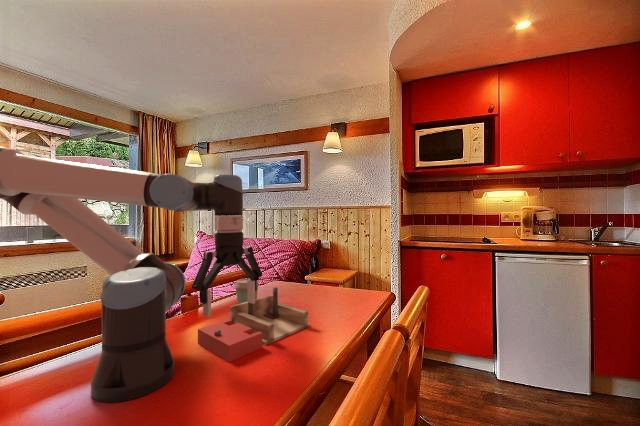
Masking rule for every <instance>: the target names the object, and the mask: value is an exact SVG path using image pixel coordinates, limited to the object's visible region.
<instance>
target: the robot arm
mask: <svg viewBox="0 0 640 426" xmlns="http://www.w3.org/2000/svg"><path fill="white" fill-rule="evenodd" d="M243 194H244V189H243V180H242V178H241V177H240V176H239V175H236V174H216V175H215V176H214V177H213V180H212V182H192V181H190V180H189V179H186V178H185V177H184V176H182V175H179V174H176V173H175V174H174V173H164V174H162V173H153V172H148V171H142V170H140V171H139V170H134V169H133V170H132V169H125V168H120V167H112V166H111V167H109V166H103V165H95V164H89V163H83V162H82V163H81V162H75V161H74V162H73V161H65V160H59V159H52V158H51V159H50V158H45V157H43V156H42V155H37V154H34V153H29V152H28V153H27V152H22V151H20V150H19V149H14V148H9V147H5V146H1V145H0V200H4V201H5V202H7V203H8V204H9V205H11V206H12V207H13V208H14V209H15V210H17V211H18V212H20V214H22V215H25V216H27V215H28V216H31V215H34V216H36V217H38V219H40V220H41V221H42V222H44V223H45V224H46V225H47V226H49V227H50V228H51V229H52V230H54V231H55V232H56V233H58V234H59V235H60V236H61V237H62V238H64V239H65V240H66V241H68V242H69V243H70V244H71V245H73V246H74V247H75V248H76V249H77V250H79V251H80V252H81V253H82V254H83V255H84V256H86V257H87V258H88V259H90V260H91V261H92V262H93V263H94V264H96V265H97V266H99V267H100V268H101V269H102V270H103V271H105V272H106V273H107V274H109V276H108V277H107V278H106V279H105V280H104V281H103V283H102V286H101V294H100V302H101V353H100V356H99V359H98V362H97V365H96V367H95V371H94V373H93V375H92V379H91V381H90V395H91V397H92V398H93V400H95V401H98V402H102V403H118V402H124V401H125V402H126V401H130V400H134V399H137V398H140V397H143V396H146V395H147V394H148V395H149V394H151V393H153V392H154V391H156V390H158V389H160V388H162V387H163V386H165V385H166V384H167V383H169V381H171V379H173V377H174V375H175V371H176V370H175V360H174V356H173V353H172V351H171V349H170V346H169V344H168V341H167V338H166V337H167V335H166V333H167V332H166V331H167V330H166V329H167V328H166V325H167V324H166V323H167V322H166V320H167V319H166V317H167V316H166V313H167V312H168V311H169V310H170V309H171V308H172V307H173V306H174V305H176V304H177V303H178V301H180V300H181V298H182V296H183V294H184V292H185V289H186V286H187V285H186V277H185V274H184V272H183V271H182V270H181V268H179V267H178V266H177V265H174V264H173V263H169V262H165V261H164V260H162V259H161V258H159V257H158V256H157V255H156V254H155V253H153V252H147V253H146V252H142V251H141V250H140V249H139V248H138V247H136V246H135V245H134V244H133V243H132V242H131V241H129V240H128V239H127V238H126V237H124V236H123V235H122V234H121V233H120V232H118V231H117V230H116V229H115V228H114V227H113V226H112V225H110V224H109V223H108V222H107V221H105V220H104V219H103V218H102V217H101V216H99V215H98V214H97V213H95V211H93V210H92V209H91V208H90V207H88V205H86V204H85V203H84V202H83V201H81V200H87V201H97V202H108V203H116V204H125V205H133V206H141V207H142V206H143V207H152V208H156V209H157V208H158V209H159V208H160V209H164V210H168V211H174V212H175V211H176V212H185V211H187V212H189V211H191V212H194V211H214V215H213V216H214V231H216V232H215V233H214V246H215V249H214V251H207V250H205V251H204V252H203V257H202V258H203V259H202V262H201V263H200V266H199V269H198V271H197V273H196V275H195V277H194V281H193V283H192V285H191V289H193V290H196V291H199V303H200V304H202V311H203V312H202V315H203V316H205V317H207V318H211V317H212V294H211V293H212V292H211V290H210V289H209V288H210V287H211V286H212V285H213V282H214V281H215V279H216V278H217V276H218V275H219V273H220V272H221V270H223V269H224V267H230V266H238V267H239V268H240V269H241V270H242V271H243V273H244V274H245V275H246V276H247V277H248V278H250V280H247V300H248V302H249V303H252V304H254V303H255V291H256V290H257V281H260V278H262V277H263V273H262V270H261V268H260V266H259V263H258V261H257V259H256V257H255V255H254V248H253V247H252V246H243V245H244V244H245V243H244V232H243V230H244V199H243V198H244V195H243ZM243 256H245V258H246V260H247V261H246V260H245V259H244V257H243ZM214 259H216V260H214ZM213 260H214V263H213V264H212V262H213ZM247 262H248V264H247ZM211 265H212V267H211ZM210 267H211V268H210ZM209 269H210V270H209Z"/></svg>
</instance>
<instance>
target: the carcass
mask: <svg viewBox="0 0 640 426" xmlns="http://www.w3.org/2000/svg"><path fill="white" fill-rule="evenodd" d="M278 294H279V293H278V287H277V286H275V287H272V294H270V295H266V296H263V297H259V298H257V299H255V303H254V304H252V303H249V302H244V303H240V304H238V303H237V304H233V305H230V306H229V319H231V320H232V325H233V324H236V323H240V324H243V325H245V326H247V327H250V328H252V334H253V333H256V332H262V345H265V346H267V345H269V344H272V343H274V342H276V341H279V340H281V339H284V338H286V337H288V336H291V335H293V334H295V333H297V332H300V331H301V330H302V331H303V330H305V329H307V328H308V327H311V323H310V322H309V310H307V309H306V310H305V309H303V308H302V309H301V308H299V307H295V306H291V305H288V304H285V303H282V302H279V301H278V298H279V297H278Z"/></svg>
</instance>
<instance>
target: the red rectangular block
mask: <svg viewBox="0 0 640 426" xmlns="http://www.w3.org/2000/svg"><path fill="white" fill-rule="evenodd" d="M197 344H198V345H199V346H201V347H203V348H205V349H206V350H208V351H210V352H212V353H213V354H214V355H217V356H218V357H220V358H222V359H223V360H225V361H227V362H229V363H230V362H232V361H235V360H238V359H239V358H241V357H244V356H246V355H249V354H251V353H253V352H256V351H258V350H260V349H263V344H262V332H256V333H253V334H252V328H250V327H247V326H245V325H243V324H240V323H236V324H233V325H232V320H231V319H230V318H228V319H225V320H222V321H220V322H216V323H213V324H210V325H206V326H204V327H199V328H197Z"/></svg>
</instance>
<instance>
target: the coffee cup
mask: <svg viewBox="0 0 640 426" xmlns="http://www.w3.org/2000/svg"><path fill="white" fill-rule="evenodd" d="M247 280H250V278H249V277H248V278H247V277H246V278H240V279H237V280H236V282H235V284H234V288H235V293H236V300H237V302H236V303H237V304H240V303H244V302H248V300H247ZM259 286H260V284H259V280H257V290H256V291H255V299H258V291H259V290H258V288H259Z"/></svg>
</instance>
